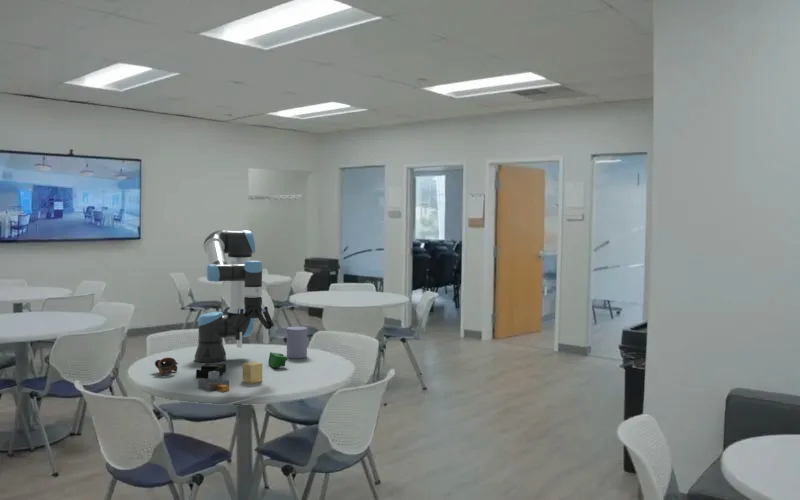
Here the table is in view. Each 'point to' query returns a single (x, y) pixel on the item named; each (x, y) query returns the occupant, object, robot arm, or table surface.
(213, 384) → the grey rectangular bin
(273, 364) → the clamp
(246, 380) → the tan rectangular block
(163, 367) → the pottery mug
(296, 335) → the container
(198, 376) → the battery charger
